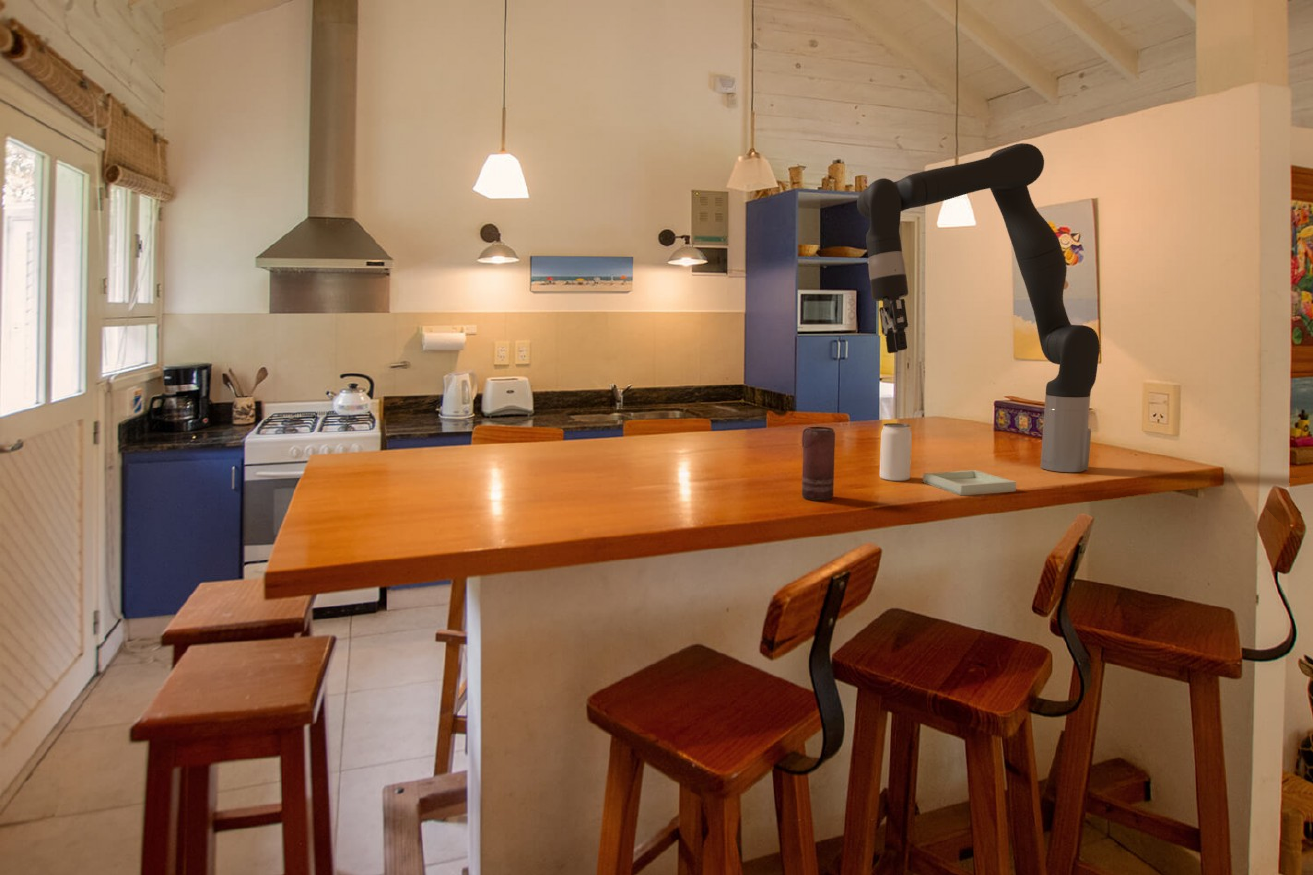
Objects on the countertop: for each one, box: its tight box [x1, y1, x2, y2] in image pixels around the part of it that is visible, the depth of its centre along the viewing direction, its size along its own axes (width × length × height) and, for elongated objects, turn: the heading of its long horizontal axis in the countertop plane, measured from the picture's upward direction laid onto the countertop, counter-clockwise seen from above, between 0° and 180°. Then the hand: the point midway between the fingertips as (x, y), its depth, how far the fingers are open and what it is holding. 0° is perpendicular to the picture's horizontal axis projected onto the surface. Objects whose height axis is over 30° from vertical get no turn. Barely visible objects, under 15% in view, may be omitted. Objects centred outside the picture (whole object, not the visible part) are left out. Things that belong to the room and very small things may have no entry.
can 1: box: [801, 426, 836, 502], centre depth 161 cm, size 6×6×14 cm
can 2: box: [879, 422, 913, 482], centre depth 179 cm, size 6×6×12 cm
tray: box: [922, 469, 1017, 496], centre depth 171 cm, size 13×13×2 cm
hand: (897, 351), depth 175 cm, fingers open, 8 cm apart
